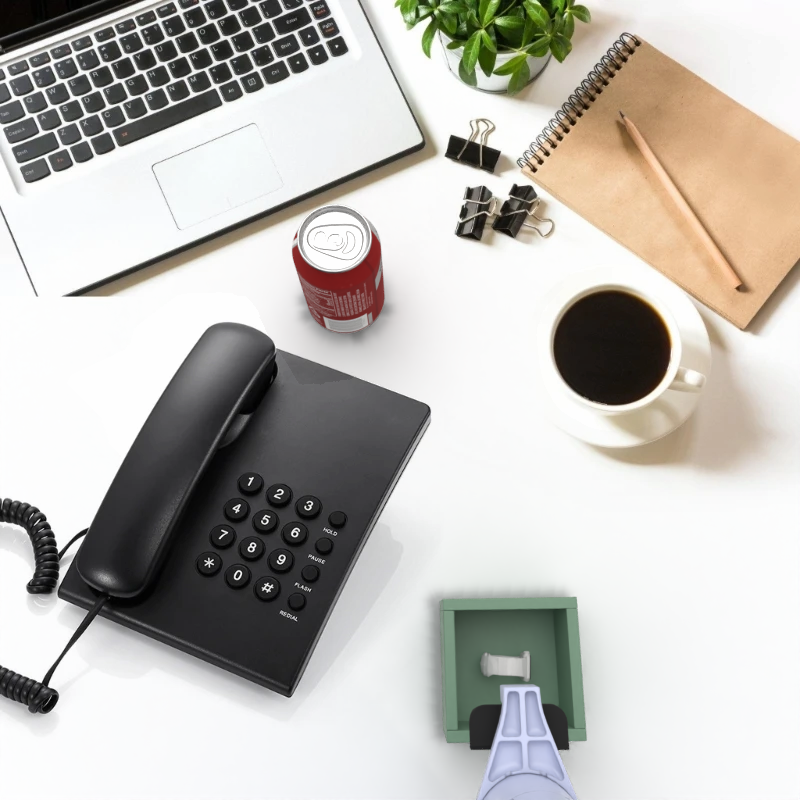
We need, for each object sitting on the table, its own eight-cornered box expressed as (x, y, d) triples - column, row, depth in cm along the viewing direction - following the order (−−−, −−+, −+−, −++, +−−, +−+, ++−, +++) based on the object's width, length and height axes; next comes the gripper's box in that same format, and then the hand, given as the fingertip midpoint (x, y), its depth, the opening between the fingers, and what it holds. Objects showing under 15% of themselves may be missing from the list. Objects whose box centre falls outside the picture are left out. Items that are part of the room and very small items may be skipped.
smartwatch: (477, 676, 61) (482, 680, 57) (478, 646, 62) (483, 648, 58) (524, 679, 61) (533, 683, 57) (525, 649, 62) (533, 652, 58)
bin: (569, 729, 61) (587, 741, 55) (442, 731, 61) (446, 743, 55) (560, 599, 64) (576, 596, 57) (439, 600, 64) (442, 598, 58)
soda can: (378, 342, 69) (371, 286, 58) (301, 330, 70) (280, 272, 58) (390, 270, 71) (387, 202, 60) (315, 260, 72) (297, 190, 60)
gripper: (641, 1034, 36) (579, 924, 49) (614, 692, 40) (563, 675, 53) (485, 1036, 36) (464, 925, 49) (472, 694, 40) (456, 676, 53)
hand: (508, 795), depth 51 cm, fingers open, 7 cm apart
